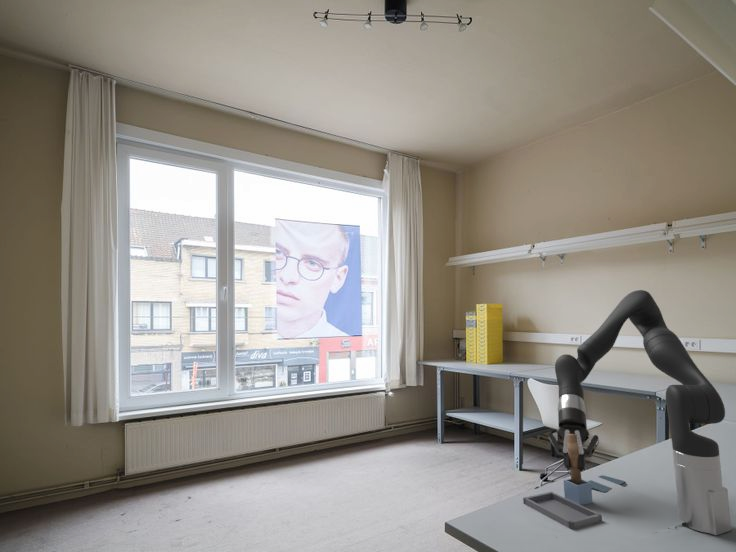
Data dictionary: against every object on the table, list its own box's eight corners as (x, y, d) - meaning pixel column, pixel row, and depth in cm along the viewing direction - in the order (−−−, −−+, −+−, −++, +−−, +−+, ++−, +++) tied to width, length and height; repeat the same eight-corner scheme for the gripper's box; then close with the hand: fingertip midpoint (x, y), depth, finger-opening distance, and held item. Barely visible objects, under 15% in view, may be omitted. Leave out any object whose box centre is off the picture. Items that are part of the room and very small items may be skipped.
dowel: (585, 496, 117) (578, 435, 119) (578, 497, 116) (571, 436, 118) (577, 492, 119) (571, 433, 121) (570, 494, 118) (564, 434, 120)
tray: (602, 525, 105) (601, 514, 105) (572, 533, 101) (571, 522, 101) (551, 500, 120) (551, 491, 120) (523, 507, 116) (523, 497, 116)
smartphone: (627, 481, 131) (605, 492, 121) (627, 487, 130) (605, 498, 121) (601, 474, 137) (578, 484, 127) (601, 479, 136) (579, 490, 127)
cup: (592, 506, 116) (591, 483, 116) (579, 509, 114) (577, 485, 114) (578, 499, 120) (576, 477, 121) (565, 502, 118) (563, 479, 119)
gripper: (599, 422, 128) (604, 479, 115) (548, 419, 134) (548, 473, 122) (596, 407, 124) (602, 464, 111) (545, 405, 130) (544, 459, 118)
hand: (574, 468), depth 117 cm, fingers closed on dowel, 2 cm apart
